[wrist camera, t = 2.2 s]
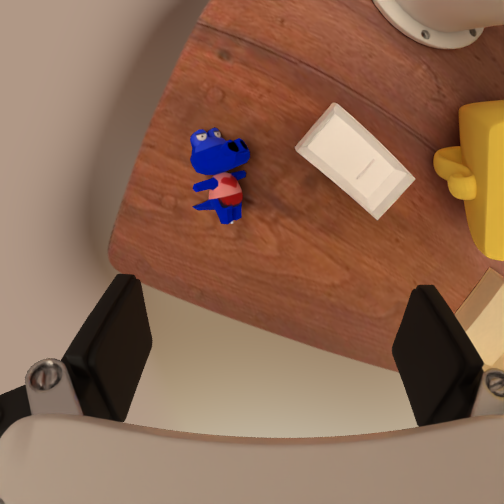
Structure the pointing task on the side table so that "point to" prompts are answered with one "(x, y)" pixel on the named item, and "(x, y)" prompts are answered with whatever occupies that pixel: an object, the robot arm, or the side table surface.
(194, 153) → the figurine
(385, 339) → the side table surface
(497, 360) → the beige open tray
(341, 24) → the side table surface
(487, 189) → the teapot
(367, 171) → the white open tray
